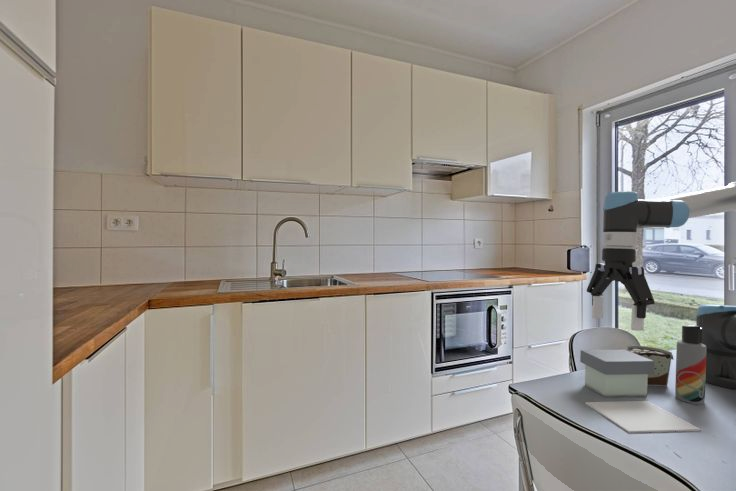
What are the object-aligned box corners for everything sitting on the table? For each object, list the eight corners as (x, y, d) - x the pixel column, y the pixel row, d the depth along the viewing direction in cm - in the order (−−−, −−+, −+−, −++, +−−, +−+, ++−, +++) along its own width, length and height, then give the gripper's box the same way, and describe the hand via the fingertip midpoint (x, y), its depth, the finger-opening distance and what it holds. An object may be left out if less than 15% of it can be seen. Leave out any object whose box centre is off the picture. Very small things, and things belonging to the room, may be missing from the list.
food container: (656, 378, 104) (657, 345, 103) (672, 386, 98) (673, 352, 97) (614, 375, 105) (615, 344, 105) (627, 384, 99) (628, 350, 99)
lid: (624, 361, 99) (624, 349, 99) (653, 374, 90) (654, 361, 90) (580, 361, 98) (580, 349, 98) (605, 374, 89) (605, 361, 89)
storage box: (623, 384, 98) (624, 354, 98) (647, 396, 91) (648, 363, 91) (584, 385, 97) (585, 354, 97) (605, 397, 90) (606, 364, 90)
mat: (647, 402, 87) (647, 401, 87) (700, 430, 74) (700, 429, 74) (585, 403, 86) (585, 402, 86) (628, 432, 73) (628, 431, 73)
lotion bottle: (694, 406, 86) (697, 328, 86) (669, 396, 91) (671, 323, 91) (710, 403, 87) (712, 327, 87) (684, 393, 93) (686, 322, 93)
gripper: (575, 246, 106) (572, 313, 106) (646, 248, 81) (643, 336, 81) (597, 247, 106) (595, 313, 107) (675, 249, 81) (672, 336, 82)
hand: (616, 323), depth 94 cm, fingers open, 13 cm apart
